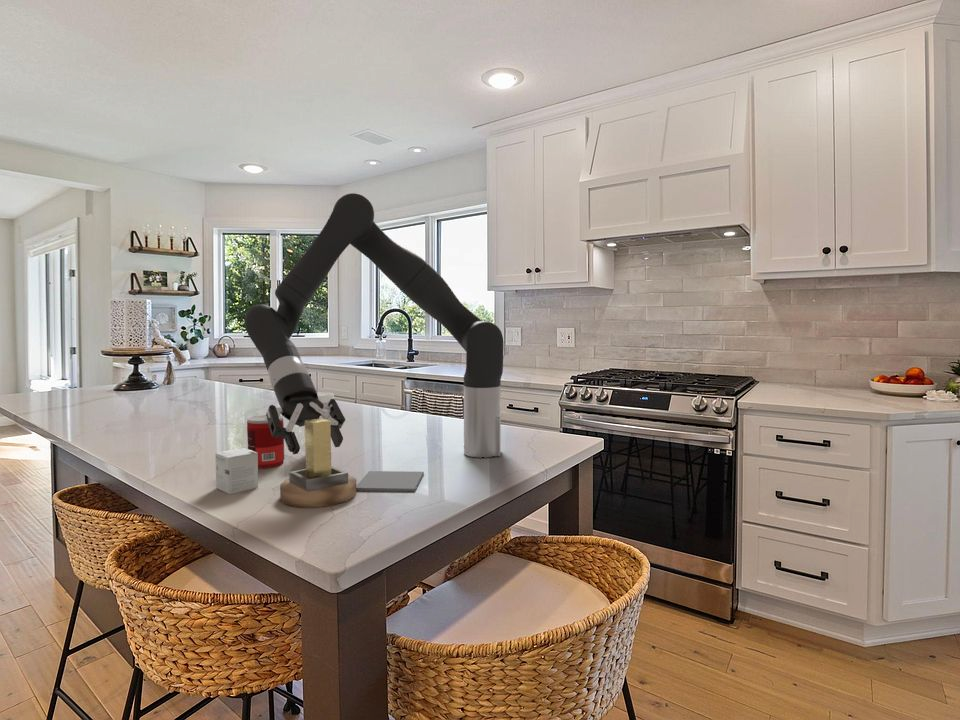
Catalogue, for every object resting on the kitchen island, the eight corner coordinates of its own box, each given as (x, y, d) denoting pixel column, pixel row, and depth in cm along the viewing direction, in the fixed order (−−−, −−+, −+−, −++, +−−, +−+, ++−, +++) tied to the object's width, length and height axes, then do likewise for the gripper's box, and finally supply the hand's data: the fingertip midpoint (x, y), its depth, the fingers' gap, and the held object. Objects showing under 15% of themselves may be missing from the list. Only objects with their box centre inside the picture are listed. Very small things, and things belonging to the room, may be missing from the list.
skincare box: (215, 488, 109) (214, 452, 109) (245, 481, 114) (244, 447, 113) (229, 494, 105) (228, 457, 105) (259, 487, 110) (258, 451, 109)
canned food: (291, 461, 130) (290, 415, 129) (268, 470, 123) (266, 421, 122) (265, 458, 133) (263, 413, 132) (240, 467, 125) (239, 419, 124)
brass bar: (323, 478, 107) (321, 418, 106) (331, 482, 104) (330, 420, 104) (306, 482, 105) (304, 420, 104) (314, 486, 102) (312, 423, 101)
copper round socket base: (335, 480, 115) (334, 459, 114) (370, 496, 104) (369, 472, 104) (268, 494, 105) (267, 471, 105) (299, 513, 95) (299, 488, 95)
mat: (423, 474, 119) (423, 471, 119) (414, 491, 107) (414, 488, 107) (369, 473, 119) (369, 471, 119) (354, 490, 107) (354, 487, 107)
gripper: (261, 373, 104) (287, 442, 97) (330, 369, 114) (358, 431, 106) (252, 398, 109) (276, 465, 101) (319, 391, 118) (345, 453, 111)
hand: (318, 448), depth 104 cm, fingers open, 8 cm apart
